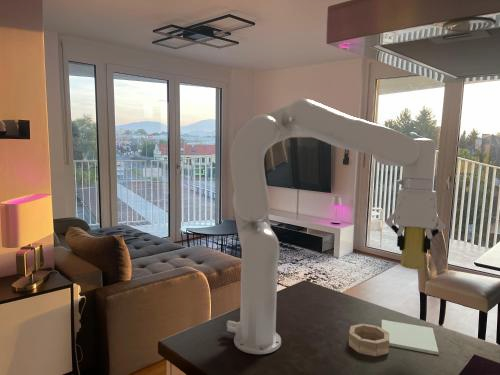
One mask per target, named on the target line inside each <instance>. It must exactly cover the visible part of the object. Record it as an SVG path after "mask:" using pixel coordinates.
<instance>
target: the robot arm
mask: <svg viewBox="0 0 500 375" xmlns="http://www.w3.org/2000/svg"><path fill="white" fill-rule="evenodd" d="M298 134H303V135H306V136H308V137H312V138H314V139H317V140H319V141H321V142H324V143H327V145H332V146H333V147H336V148H339V149H342V150H347V151H355V152H361V153H365V154H369V155H372V156H373V158H374V160H375V161H376V162H377V163H378V164H381V165H384V166H390V167H391V166H392V167H403V169H402V172H403V174H402V178H401V179H397V180H396V185H397V186H401V187H402V188H400V189H399V190H398V194H397V197H396V198H397V199H396V206H395V211H394V212H393V213H391V215H390V216H389V217H388V218H386V220H385V224H386V225H387V226H388V227H389V228H391V230H392V231H393V232H394V233H395V234H396V235H397V239H396V247H398V248H399V252H400V251H401V252H402V250H403V236H404V228H405V227H416V228H425V247H424V254H428V251H430V250H431V243H432V238H433V237H435V236H436V235H438V234H439V233H440V232H442V231H443V230H445V229H446V227H447V226H446V224H445V223H444V222H443V221H442V220H441V218H440V217H439V216H438V196H437V191H436V190H433V189H434V179H435V178H434V177H435V176H434V173H435V164H436V163H435V161H436V151H437V150H436V149H437V144H436V142H435V140H433V139H431V138H430V139H429V138H413V137H411V136H410V135H407V134H405V133H403V132H400V131H398V130H394V129H393V128H389V127H387V126H384V125H381V124H377V123H374V122H370V121H367V120H365V119H362V118H358V117H354V116H352V115H349V114H346V113H344V112H341V111H339V110H336V109H334V108H331V107H329V106H326V105H324V104H322V103H319V102H318V101H317V102H316V101H314V100H312V99H308V98H299V99H297V100H294V101H292V102H291V103H289V104H287V105H285V106H283V107H281V108H278V109H276V110H273V111H271V112H268V113H265V114H259V115H255V116H254V117H253V118H251V119H250V120H249V121H247V122H246V123H245V124H244V125H243V126H242V127H241V128H240V129H239V131H238V132H237V134H236V135H235V138H234V139H233V142H232V145H231V149H230V153H229V154H230V156H229V158H230V159H229V160H230V171H231V178H232V186H233V191H234V193H233V196H232V205H233V210H234V212H233V213H234V217H235V222H236V229H237V233H238V240H239V243H240V247H241V263H240V264H241V267H240V268H241V269H240V307H239V308H240V311H239V312H240V314H239V315H240V319H239V321H238V322H237V321H234V320H227V322H226V330H227V332H230V333H234V334H235V335H234V338H233V342H234V343H233V344H234V346H235V347H236V348H237V349H238V350H240V351H242V352H243V353H247V354H252V355H266V354H271V353H273V352H276V351H277V350H279V348H280V347H281V345H282V338H281V336H280V334H278V332H276V330H277V328H276V325H277V298H278V297H277V296H278V295H277V293H278V292H277V290H278V286H277V285H278V269H279V268H278V267H279V260H280V242H279V239H278V237H277V235H276V234H275V231H273V229H272V227H271V223H270V217H269V216H270V215H269V213H270V211H271V198H270V195H269V189H268V184H267V177H266V170H265V169H266V168H265V156H266V153H267V151H268V150H269V149H270V148H271V147H272V146H274V145H275V144H277V143H279V142H282V141H285V140H286V139H289V138H291V137H293V136H297V135H298ZM393 221H394V222H395V224H394V222H393ZM437 225H438V226H437ZM397 226H398V227H397Z"/></svg>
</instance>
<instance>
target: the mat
mask: <svg viewBox="0 0 500 375" xmlns="http://www.w3.org/2000/svg"><path fill="white" fill-rule="evenodd" d="M380 328H382V329H384V330H385V331H387V332H389V347H394V348H395V347H396V348H399V349H405V350H411V351H416V352H421V353H427V354H432V355H436V356H437V355H438V356H439V353H440V352H439V349H438V344H437V341H436V336H435V333H434V328H433V327H429V326H422V325H416V324H409V323H406V322H405V323H403V322H400V321H398V322H397V321H392V320H387V319H381V327H380Z"/></svg>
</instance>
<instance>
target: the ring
mask: <svg viewBox="0 0 500 375" xmlns="http://www.w3.org/2000/svg"><path fill="white" fill-rule="evenodd" d="M348 333H349V334H348V336H349V337H348V346H349V347H350V348H352V349H353V350H354V351H356V352H357V353H358V354H361V355H367V356H372V357H380V356H383V355H387V354H389V351H390V350H389V348H390V346H389V332H387V331H385V330H384V329H382V328H381V327H380V326H378V325H373V324H367V323H360V324H359V323H358V324H355V325H351V326H350V328H349V332H348Z"/></svg>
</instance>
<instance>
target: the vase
mask: <svg viewBox="0 0 500 375" xmlns="http://www.w3.org/2000/svg"><path fill="white" fill-rule="evenodd" d="M425 236H426V231H425V228H416V227H405V228H404V230H403V250H402V251H401V254H400V255H401V257H400V260H401V261H400V266H401V267H403V268H405V269H410V270H423V269H424V268H425V253H424V247H425Z"/></svg>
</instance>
